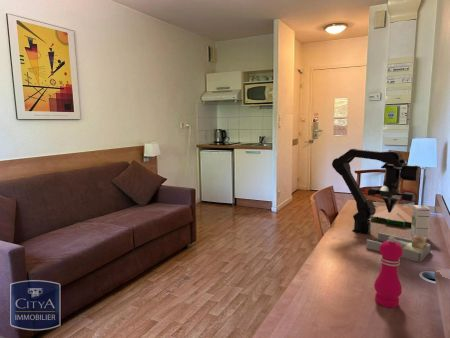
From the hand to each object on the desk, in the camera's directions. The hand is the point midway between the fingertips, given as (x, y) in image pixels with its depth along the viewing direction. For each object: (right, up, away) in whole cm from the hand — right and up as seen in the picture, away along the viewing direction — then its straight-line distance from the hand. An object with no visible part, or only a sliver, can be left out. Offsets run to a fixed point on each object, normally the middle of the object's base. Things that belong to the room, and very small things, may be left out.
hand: (389, 212), depth 149 cm
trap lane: (-3, -14, -13) cm, 19 cm away
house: (+20, -9, +33) cm, 40 cm away
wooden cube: (+4, -12, -16) cm, 20 cm away
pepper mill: (-28, -19, -53) cm, 63 cm away
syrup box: (+15, -12, +3) cm, 20 cm away
